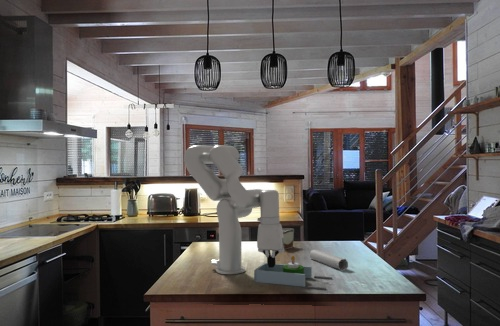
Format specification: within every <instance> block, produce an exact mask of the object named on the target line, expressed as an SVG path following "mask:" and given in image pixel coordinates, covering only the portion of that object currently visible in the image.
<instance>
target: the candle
mask: <svg viewBox="0 0 500 326" xmlns="http://www.w3.org/2000/svg"><path fill="white" fill-rule="evenodd" d="M290 259H291V261H290V262H288V263H287V264H284V266H283V272H286V273H297V274H304V267H303V266H304V265H301V264H299V262H296V261H295V260H296V257H295V255H291V258H290Z"/></svg>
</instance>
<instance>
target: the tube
mask: <svg viewBox="0 0 500 326" xmlns="http://www.w3.org/2000/svg"><path fill="white" fill-rule="evenodd" d="M308 256H309V258H310V259H311V260H313V261H314V262H318V263H321V264H323V265H325V264H326V266H327V267H331V268H333V269H336V270H338V271H346V270H348V268H349V262H348V260H347V259H346V258H342V257H340V256H338V255H337V256H336V255H334V254H331V253H328V252H325V251H321V250H319V249H312V250H310V252H309V255H308Z"/></svg>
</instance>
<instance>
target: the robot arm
mask: <svg viewBox="0 0 500 326" xmlns="http://www.w3.org/2000/svg"><path fill="white" fill-rule="evenodd" d="M183 159H184V165H185V167H186V170H187V172H188V173H189V174H190V175H191V176H192V178H193V179H194V180H195V181H196V182H197V183H198V185H199V187H200V188H201V189H202V190H203V192H204V193H205V194H206V195H207V197H208V198H209V199H210V200H211V201H213V202H218V203H217V205H216V215H217V219H218V221H217V222H218V234H219V235H218V245H219V246H218V247H219V249H218V252H219V254H218V255H219V256H218V257H219V258H218V260H217V259H211V261H210V262H211V263H210V264H211V266H216V267H215V272H216V273H217V274H222V275H239V274H242V273H244V272H245V271H246V267H245V266H244V265H242V227H241V224H240V220H239V219H241V218H245V217H248V216H249V215H250V214H251V213H252V212H253V209H256V208H259V209H260V217H257V220H256V221H257V222H259V224H258V228H257V240H256V244H257V245H256V246H257V252H259V253H262V254H264V255H265V257H266V259H267V260H266V261H267V262H266V263H267V265H268V267H269V268H270V267H271V268H273V267H274V266H275V265H276V264H277V262H276V258H277V256H278V255H279V254H283V253H284V252H285V250H284V237H283V230H282V228H283V226H282V224H281V221H280V196H279V195H280V194H279V191H278V190H277V189H260V188H257V189H255V188H253V189H247V188H245V186H243V184H242V183H241V182H240V179H239V178H240V176H242V175H243V172H244V171H243V167H242V165H241V164H240V163H239V162H238V161H239V159H240V153H239V150H238V149H237V148H236V147H235V146H233V145H222V144H221V145H220V144H219V145H205V144H202V145H201V144H200V145H199V144H197V145H196V144H195V145H192V146H191V145H190V146H189V147H188V148H187V149H186V151H185V152H184V158H183ZM213 164H214V165H215V167H216V169H218V171H219V172H220V173H221V175H222V176H223V177H224V178H219V177H218V175H217V174H216V173H215V172H214V171H213V169H212V168H210V167H209V166H207V165H213Z"/></svg>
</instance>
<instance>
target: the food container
mask: <svg viewBox="0 0 500 326" xmlns="http://www.w3.org/2000/svg"><path fill="white" fill-rule="evenodd" d="M282 230H283V237H284V251H285V250H287V249H291V248H293V247H294V233H295V228H290V227H282Z"/></svg>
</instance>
